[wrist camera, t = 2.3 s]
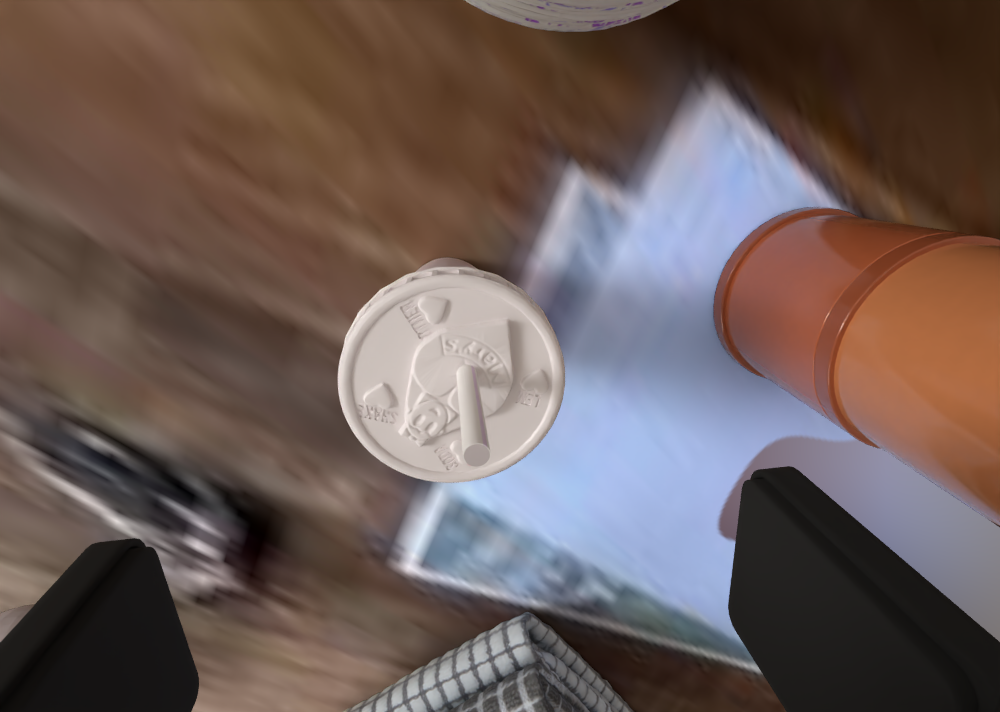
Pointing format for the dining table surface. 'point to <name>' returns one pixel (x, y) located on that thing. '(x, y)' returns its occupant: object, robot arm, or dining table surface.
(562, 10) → the paper bowls
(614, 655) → the dining table surface
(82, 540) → the dining table surface
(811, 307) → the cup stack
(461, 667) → the towel
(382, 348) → the smoothie
